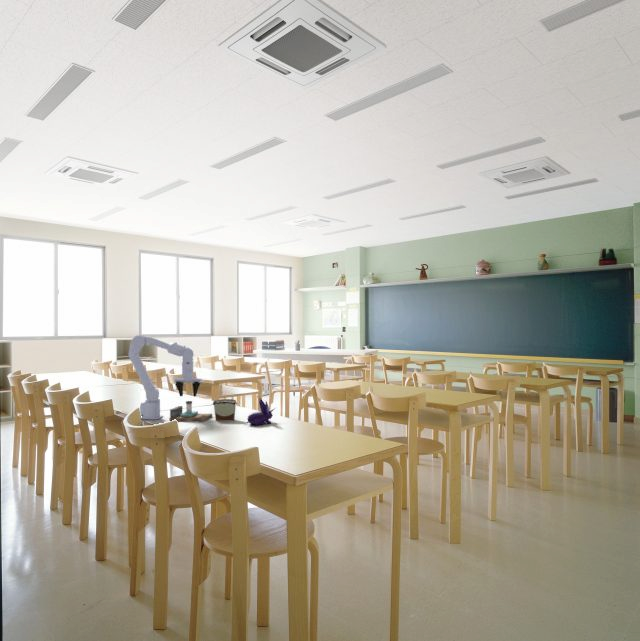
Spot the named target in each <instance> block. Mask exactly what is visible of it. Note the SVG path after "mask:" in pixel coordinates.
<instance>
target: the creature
mask: <svg viewBox="0 0 640 641" xmlns="http://www.w3.org/2000/svg"><path fill="white" fill-rule="evenodd" d="M258 401H259V409H260V410H258V411H255V412H251V413H250V414H249V415H247V417H246V418H247V422H245V424H250V425H254V426H260V425H261V426H262V425H265V424H266V423H267V424H269V425H270V424H271V423H272V421H271V419H272V417H273V413H272V412H274V411H275V409H276V407H274V408H273V409H271V410H270V406H269V404H268V402H267V401H265V402H264V400H263V399H262V398H261V397H259V398H258Z"/></svg>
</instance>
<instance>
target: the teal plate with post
mask: <svg viewBox="0 0 640 641" xmlns="http://www.w3.org/2000/svg"><path fill="white" fill-rule="evenodd" d="M185 405H186V407H185V408H186V411H184V412H182V414H180V417H192V416H194V415H196V414H199V411H198V410H195V411H193V410H192V408H193V401H192V400H187V401H185Z"/></svg>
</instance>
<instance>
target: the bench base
mask: <svg viewBox="0 0 640 641" xmlns="http://www.w3.org/2000/svg"><path fill="white" fill-rule="evenodd" d="M182 413H183V406H182V405H178V406H175V407H174V408H173V407H172V408H170V409H169V417H168V418H169V419H168V420H174V419H176V420H178V421H177V422H195V421H199V422H200V423H201V422H202V423H203V422H206V421H207V420H209V419H211V418H213V413H198V414H196V415H194V416H192V417H180V414H182Z"/></svg>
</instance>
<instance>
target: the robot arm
mask: <svg viewBox="0 0 640 641" xmlns="http://www.w3.org/2000/svg"><path fill="white" fill-rule="evenodd" d="M129 344H130V345H129V348H128V355H127V356H128V357H129V359H130V362H131V363H132V365H133V368H134V371H135V372H136V374H137V376H138V378H139V379H140V382H141V383H142V386H143V389H144V391H145V398H146V399H145V400H143V401H141V402H140V405H139V414H140V413H141V416H142V419H141V420H155V421H156V420H159V419H161V418H163V417H164V415H161V399H159V397H160V391H159V389H158V388H157V387H156V386H155V385H154V383H153V382H152V381H153V380H152V379H151V377H150V375H149V373H148V371H147V369H146V367H145V365H144V363H143V361H142V359H141V357H140V353H141V350H142V348H143V347H144V346H155V347H156V348H157V347H158V348H161V349H164V350H166V351H167V353H168V354H171V355H174V356H176V357H182V362H181V376H182V377H181V378H174V380H173V381H174V384H175V387H176V388H177V391H178V393H179V397H183V395H184V383H191V384H192V390H193V395H192V396H193V397H197V396H198V395H197V393H198V390H199V388H200V385H201V383H202V378H194V358H193V357H194V355H195V354H194V351H193V350H192V349H191V348H189V347H187V346H186V345H180V344H178V343H177V342H170V343H168V342H165V341H162V340H159V339H157V338H155V337H152V336H146V335H142V334H137V335H135V336H133V338H132V339H131V341H130V343H129Z"/></svg>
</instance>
